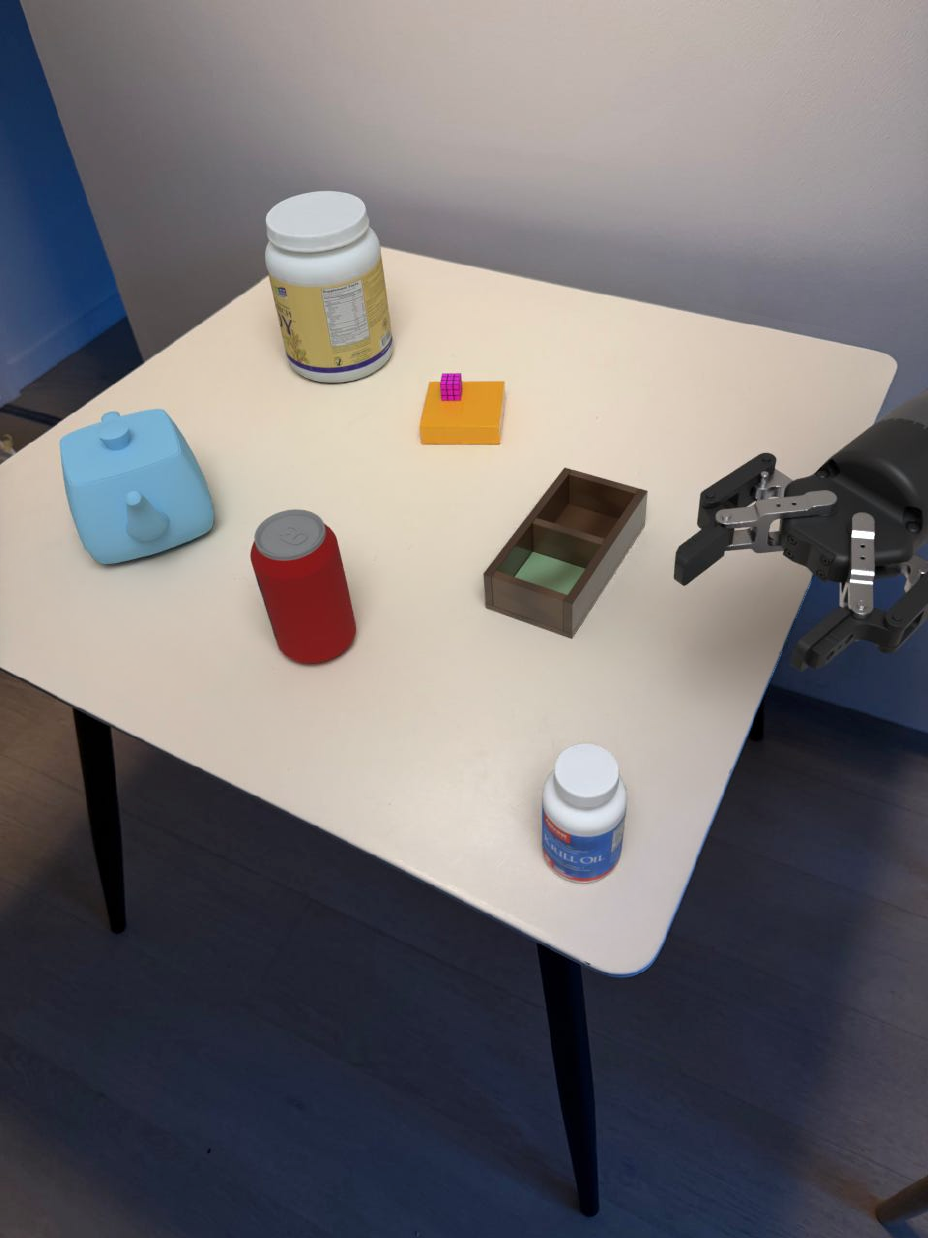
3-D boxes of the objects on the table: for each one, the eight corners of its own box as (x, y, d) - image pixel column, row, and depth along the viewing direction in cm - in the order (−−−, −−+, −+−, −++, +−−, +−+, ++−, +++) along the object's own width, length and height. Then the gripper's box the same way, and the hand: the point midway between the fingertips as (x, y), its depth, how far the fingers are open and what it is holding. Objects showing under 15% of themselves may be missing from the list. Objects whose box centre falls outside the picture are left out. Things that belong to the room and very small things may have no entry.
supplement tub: (275, 347, 115) (241, 204, 103) (372, 318, 118) (350, 176, 106) (308, 400, 108) (276, 252, 95) (411, 367, 111) (392, 219, 98)
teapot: (103, 618, 86) (55, 519, 78) (75, 501, 98) (31, 403, 90) (240, 573, 89) (207, 472, 81) (197, 464, 101) (165, 366, 93)
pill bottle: (531, 872, 67) (527, 791, 60) (556, 807, 70) (555, 723, 63) (610, 896, 65) (616, 816, 58) (631, 829, 69) (639, 745, 61)
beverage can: (314, 599, 86) (287, 492, 78) (374, 629, 83) (352, 522, 75) (261, 648, 83) (226, 542, 74) (321, 682, 80) (292, 575, 71)
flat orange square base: (505, 398, 105) (503, 363, 102) (500, 444, 100) (498, 409, 97) (431, 399, 106) (427, 364, 103) (421, 444, 101) (417, 409, 98)
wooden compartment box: (645, 525, 90) (647, 490, 87) (572, 639, 81) (572, 604, 78) (564, 501, 93) (564, 466, 90) (485, 608, 84) (482, 573, 81)
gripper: (828, 371, 62) (645, 503, 56) (1044, 483, 54) (856, 649, 49) (808, 460, 67) (640, 588, 62) (1001, 573, 60) (828, 730, 54)
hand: (735, 615), depth 55 cm, fingers open, 8 cm apart
